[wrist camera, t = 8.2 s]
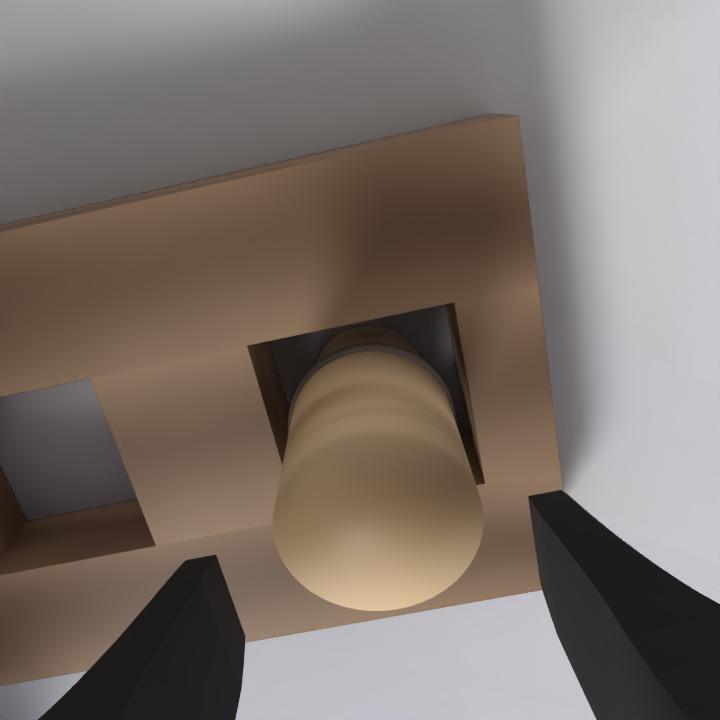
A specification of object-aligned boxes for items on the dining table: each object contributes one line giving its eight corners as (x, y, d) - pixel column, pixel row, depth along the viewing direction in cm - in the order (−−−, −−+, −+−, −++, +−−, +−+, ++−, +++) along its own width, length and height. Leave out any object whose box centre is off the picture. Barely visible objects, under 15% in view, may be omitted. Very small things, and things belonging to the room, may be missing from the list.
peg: (449, 429, 22) (499, 596, 14) (314, 452, 22) (294, 628, 15) (429, 297, 20) (474, 410, 13) (283, 324, 21) (243, 450, 13)
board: (547, 526, 23) (574, 584, 21) (14, 624, 25) (-29, 691, 22) (492, 113, 18) (518, 115, 16) (-172, 264, 20) (-259, 290, 17)
